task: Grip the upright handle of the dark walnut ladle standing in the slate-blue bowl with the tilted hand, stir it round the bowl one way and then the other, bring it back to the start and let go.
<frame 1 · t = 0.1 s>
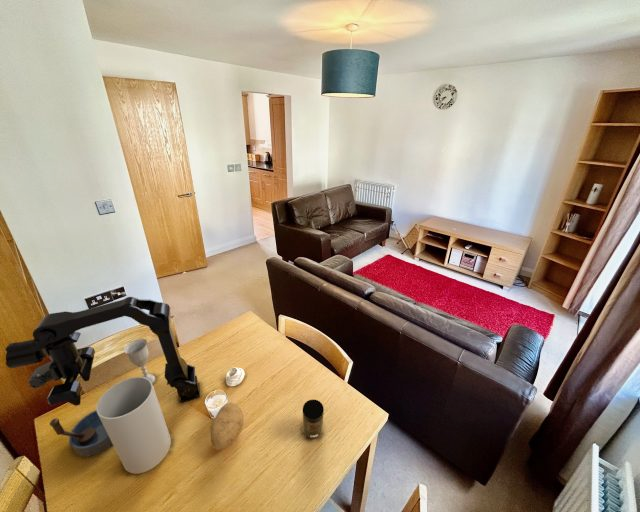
hand: (82, 392, 84), 15 cm above the table, tool pointing down, fingers open, 9 cm apart
potato: (228, 435, 88), on the table
ladle: (73, 427, 82), point 7 cm above the table, hinge at 0.0°
chalice: (148, 381, 106), on the table
cylinder vase: (148, 451, 83), on the table
whipped cream: (234, 379, 107), on the table
bowl: (100, 433, 87), on the table
supplement container: (312, 429, 91), on the table
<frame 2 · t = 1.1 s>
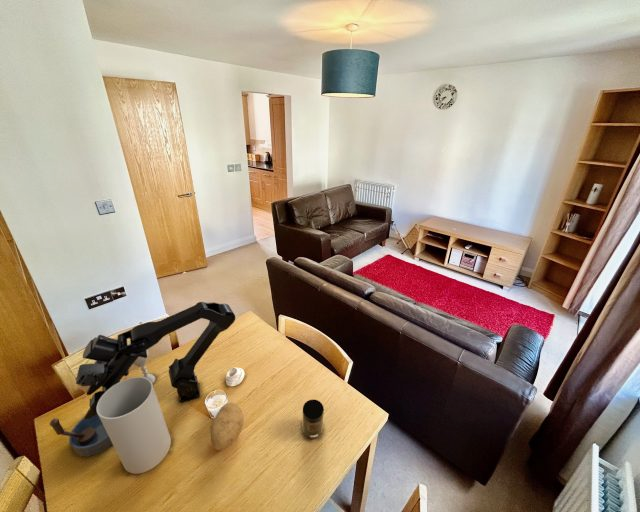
hand: (87, 406, 82), 13 cm above the table, tool tilted 45°, fingers open, 9 cm apart
nothing on the table moved.
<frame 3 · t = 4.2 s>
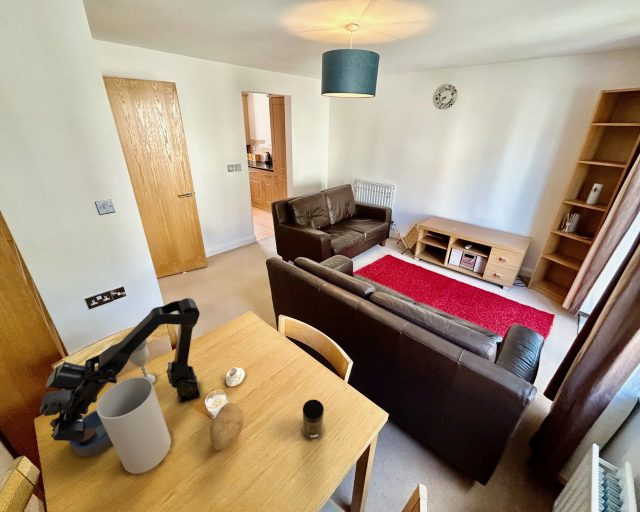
hand: (53, 433, 79), 8 cm above the table, tool tilted 45°, fingers closed on ladle, 2 cm apart
ladle: (73, 427, 82), point 7 cm above the table, hinge at 0.0°, touching gripper
everything else where it was.
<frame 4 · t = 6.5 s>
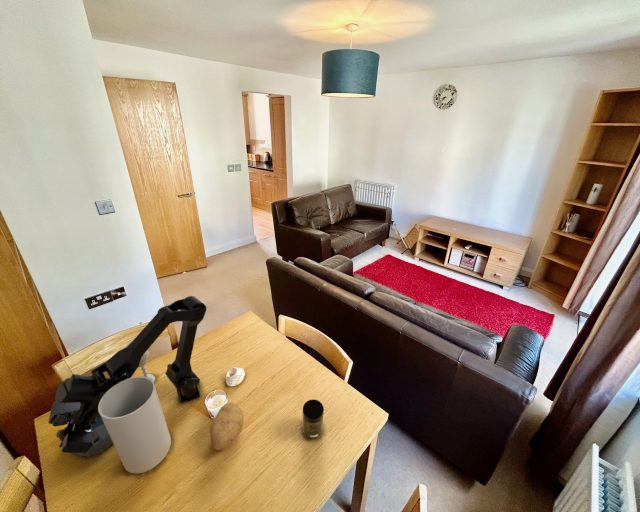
hand: (61, 443, 77), 8 cm above the table, tool tilted 45°, fingers closed on ladle, 2 cm apart
ladle: (78, 434, 80), point 7 cm above the table, hinge at 42.5°, touching gripper
cylinder vase: (148, 451, 83), on the table, touching arm
everything else where it was.
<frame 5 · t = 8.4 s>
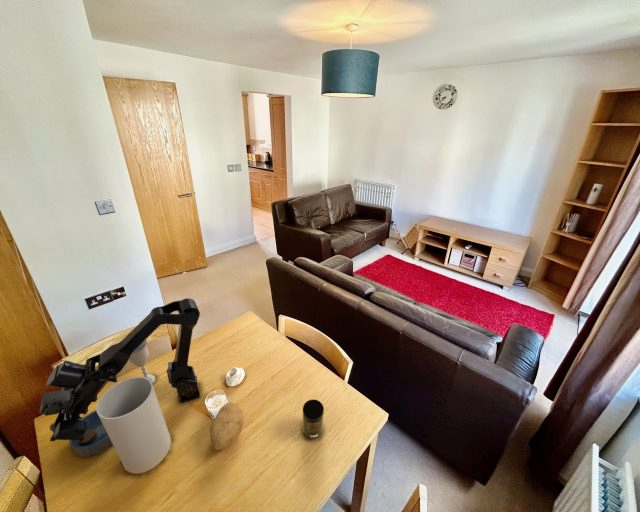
hand: (52, 435, 79), 8 cm above the table, tool tilted 45°, fingers open, 3 cm apart
ladle: (73, 430, 81), point 7 cm above the table, hinge at 11.6°, touching gripper
cylinder vase: (148, 451, 83), on the table
everything else where it was.
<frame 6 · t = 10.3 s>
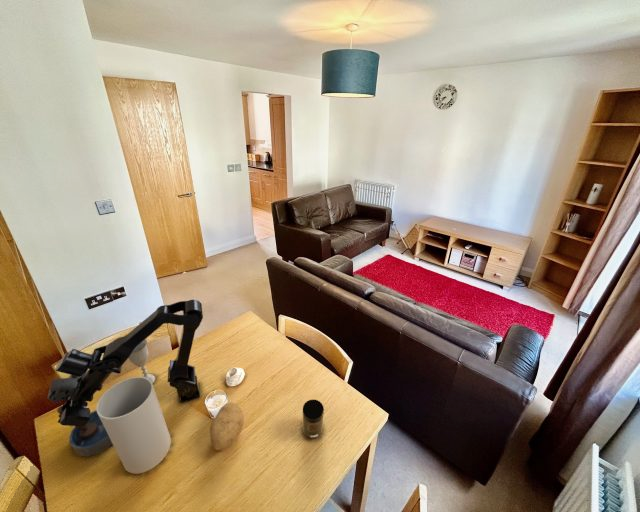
hand: (60, 419, 83), 9 cm above the table, tool tilted 45°, fingers closed on ladle, 2 cm apart
ladle: (77, 420, 84), point 7 cm above the table, hinge at -31.9°, touching gripper
everything else where it was.
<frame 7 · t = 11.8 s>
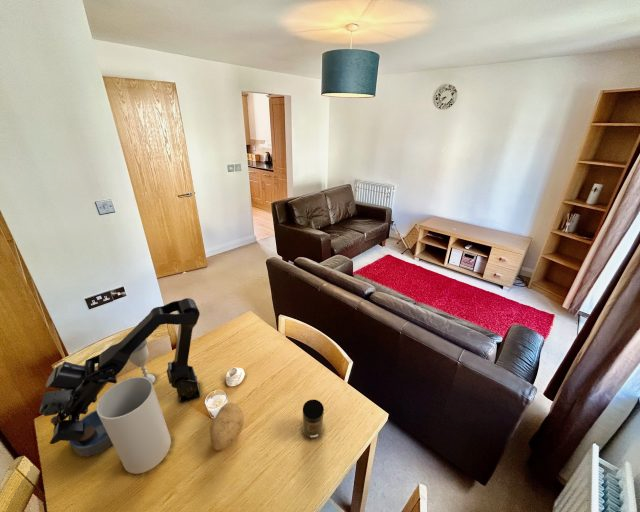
hand: (53, 433, 79), 8 cm above the table, tool tilted 45°, fingers open, 6 cm apart
ladle: (74, 426, 82), point 7 cm above the table, hinge at -7.2°
everything else where it was.
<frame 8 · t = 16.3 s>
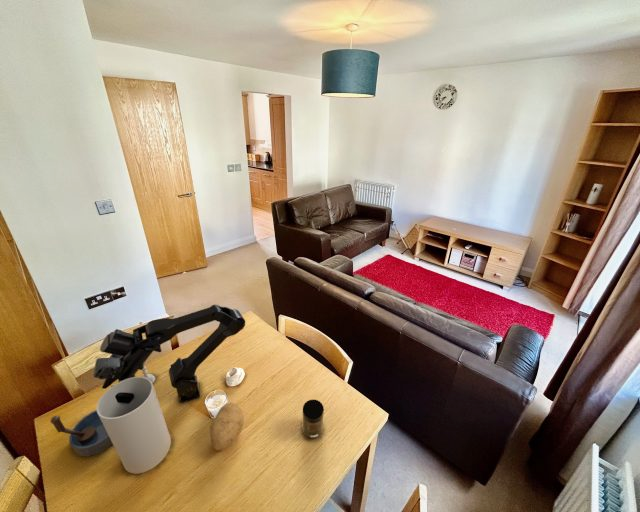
hand: (103, 399, 84), 14 cm above the table, tool tilted 45°, fingers open, 9 cm apart
nothing on the table moved.
at the end: ladle reached +43° during the clip, -7° at the end; ladle reached -34° during the clip, -7° at the end; the gripper is holding nothing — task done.
